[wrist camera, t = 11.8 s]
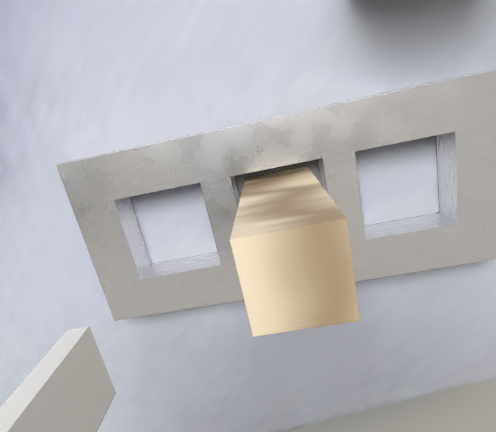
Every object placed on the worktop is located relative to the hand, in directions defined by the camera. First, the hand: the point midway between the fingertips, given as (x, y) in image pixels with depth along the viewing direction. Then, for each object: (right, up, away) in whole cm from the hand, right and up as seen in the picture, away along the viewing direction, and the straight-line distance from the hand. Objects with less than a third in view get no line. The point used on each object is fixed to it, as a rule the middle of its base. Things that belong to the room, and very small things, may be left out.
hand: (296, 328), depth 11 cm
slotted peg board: (+1, +5, +14) cm, 15 cm away
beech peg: (+1, +5, +14) cm, 15 cm away
